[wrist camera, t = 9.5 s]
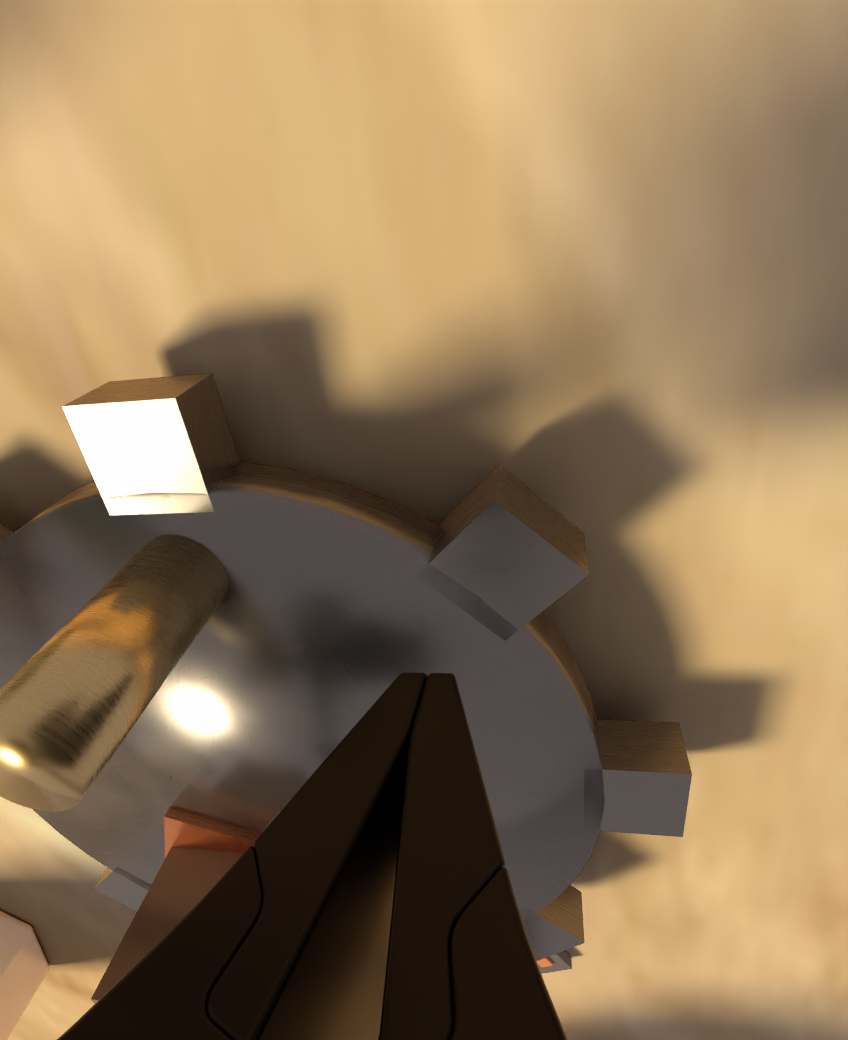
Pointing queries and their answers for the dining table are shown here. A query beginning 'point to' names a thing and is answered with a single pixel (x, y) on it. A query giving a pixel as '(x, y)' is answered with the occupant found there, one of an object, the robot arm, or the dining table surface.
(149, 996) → the robot arm
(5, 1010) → the jar
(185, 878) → the link block
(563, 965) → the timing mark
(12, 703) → the sprocket
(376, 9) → the dining table surface
